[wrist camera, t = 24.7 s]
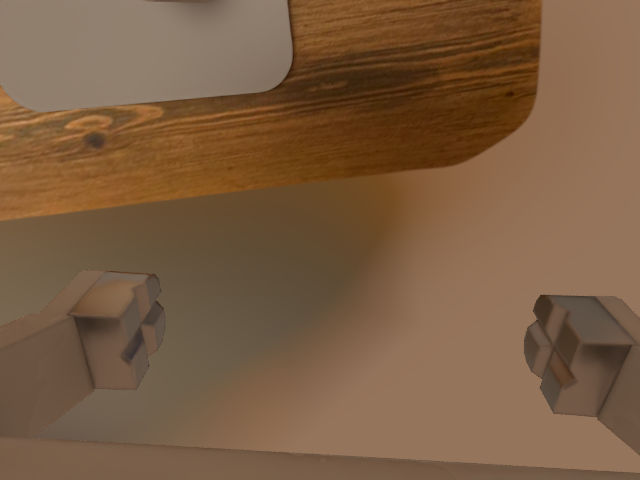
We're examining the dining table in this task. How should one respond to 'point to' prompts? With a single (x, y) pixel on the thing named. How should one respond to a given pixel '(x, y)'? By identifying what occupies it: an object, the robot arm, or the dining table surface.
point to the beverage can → (183, 0)
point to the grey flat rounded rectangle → (140, 50)
